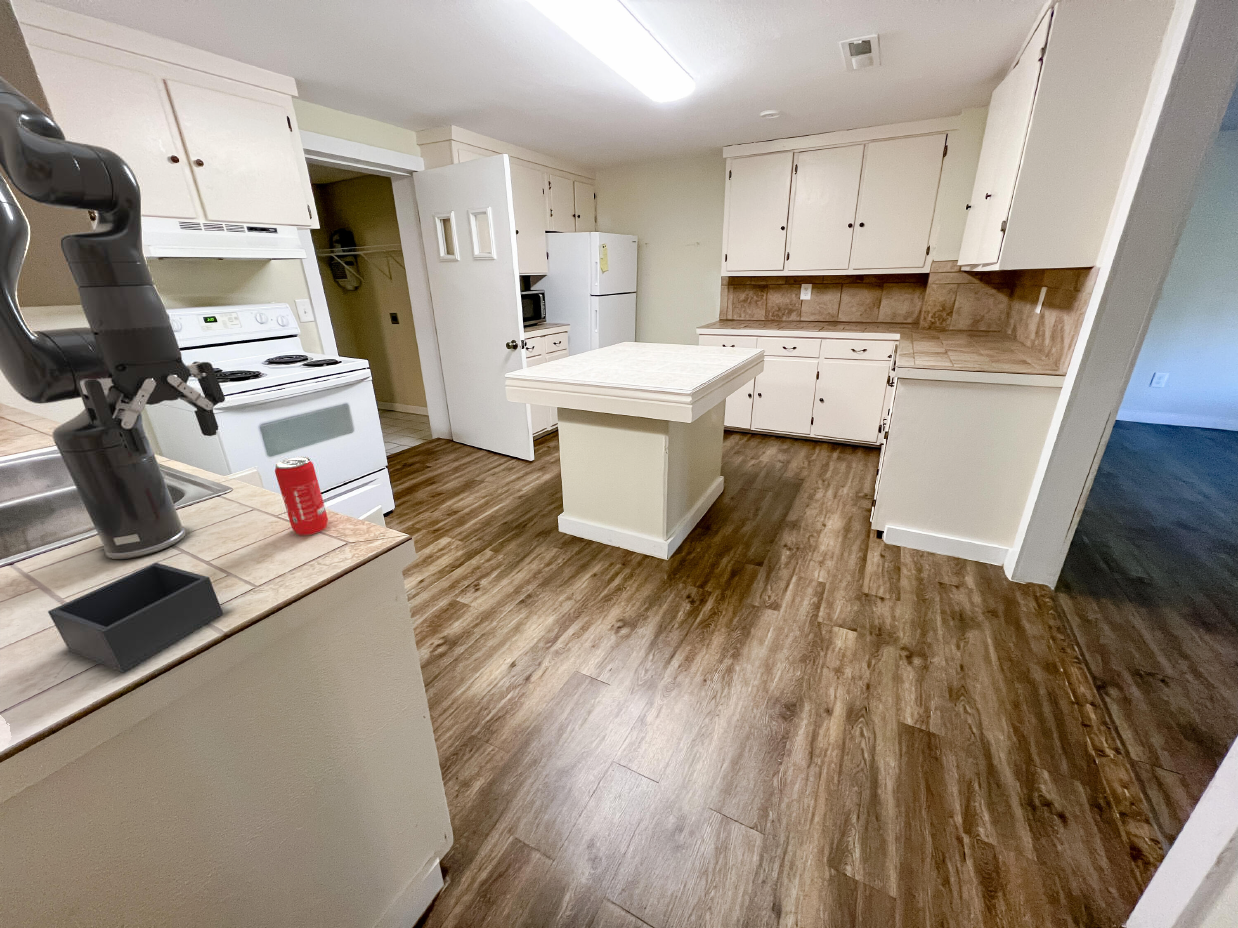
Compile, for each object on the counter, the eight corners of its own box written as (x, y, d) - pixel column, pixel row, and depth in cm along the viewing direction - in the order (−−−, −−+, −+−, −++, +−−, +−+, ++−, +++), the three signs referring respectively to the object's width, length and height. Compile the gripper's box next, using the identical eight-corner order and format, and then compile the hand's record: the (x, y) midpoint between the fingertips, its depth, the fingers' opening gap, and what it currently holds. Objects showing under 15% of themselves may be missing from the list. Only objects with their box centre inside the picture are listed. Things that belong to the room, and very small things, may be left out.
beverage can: (313, 538, 78) (293, 469, 74) (286, 535, 79) (264, 467, 75) (336, 522, 83) (319, 457, 79) (310, 520, 84) (292, 455, 80)
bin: (69, 650, 55) (47, 611, 53) (171, 597, 64) (156, 562, 62) (123, 672, 52) (102, 631, 50) (223, 613, 61) (209, 576, 59)
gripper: (177, 319, 69) (214, 427, 75) (38, 329, 57) (95, 458, 63) (211, 319, 67) (246, 432, 73) (73, 330, 54) (129, 465, 60)
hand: (176, 444), depth 68 cm, fingers open, 8 cm apart
